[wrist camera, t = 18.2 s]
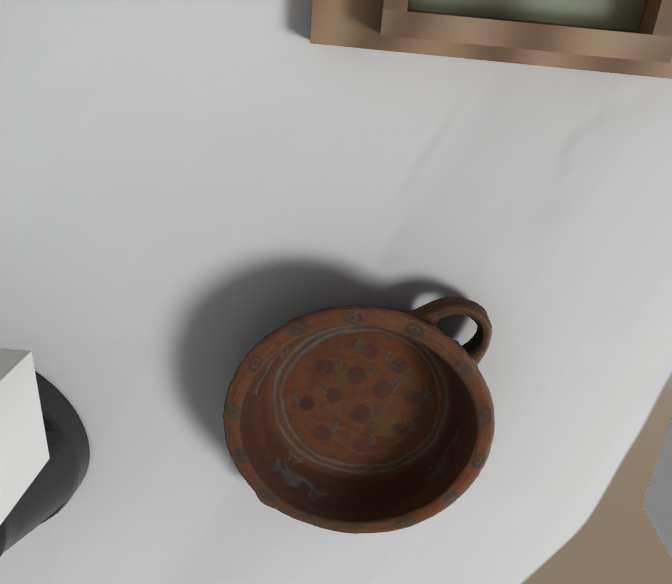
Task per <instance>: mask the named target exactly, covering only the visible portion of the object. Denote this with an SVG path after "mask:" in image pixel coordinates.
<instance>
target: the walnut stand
mask: <svg viewBox="0 0 672 584" xmlns="http://www.w3.org/2000/svg"><path fill="white" fill-rule="evenodd" d="M310 43H315V44H325V45H335V46H345V47H355V48H366V49H376V50H386V51H396V52H406V53H416V54H427V55H437V56H447V57H457V58H467V59H478V60H488V61H498V62H508V63H518V64H528V65H539V66H549V67H559V68H569V69H579V70H590V71H600V72H610V73H620V74H630V75H640V76H651V77H661V78H671V79H672V0H312V15H311V30H310Z"/></svg>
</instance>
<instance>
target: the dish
mask: <svg viewBox="0 0 672 584" xmlns="http://www.w3.org/2000/svg"><path fill="white" fill-rule="evenodd" d="M460 314H462V315H466V316H468V317H470V318H471V319H472V320H474V321H475V323H476V324H477V325H478V327H477V331H476V333H475V335H474V336H473V337H472V338H471V339H470V340H469V341H468V342H467V343H465V344H464V345H462V346H461V345H460V344H459V342H458V341H456V340H453V339H452V338H451V337H449V336H447V335H446V334H444V333H443V332H442V331H441V330H439V329H438V328H437V327H436V324H437V322H438V321H439V320H440V319H441V318H443V317H446V316H449V315H460ZM491 334H492V326H491V323H490V320H489V318H488V315H487V312H486V311H485V309H484V308H483V307H482V306H480V305H479V304H477V303H475V302H473V301H470V300H467V299H464V298H458V297H445V298H440V299H437V300H434V301H432V302H430V303H428V304H425V305H423V306H421V307H419V308H417V309H415V310H412V311H408V312H404V311H397V310H393V309H389V308H383V307H374V306H341V307H332V308H327V309H323V310H319V311H315V312H312V313H309V314H306V315H303V316H301V317H298V318H296V319H293V320H291V321H289V322H288V323H286V324H284V325H283V326H281V327H280V328H278V329H276V330H275V331H273V332H272V333H270V334H269V335H267V336H266V337H265V338H264V339H262V340H261V341H260V342H259V343H258V344H257V345H256V346H255V347H254V348H253V349H252V350H251V351H250V352H249V353H248V354H247V355H246V357H245V358H244V359H243V361H242V362H241V363H240V365H239V367H238V368H237V370H236V373H235V375H234V377H233V379H232V381H231V383H230V385H229V388H228V392H227V397H226V401H225V407H224V414H223V418H224V429H225V438H226V443H227V446H228V449H229V452H230V455H231V457H232V459H233V461H234V463H235V465H236V467H237V469H238V470H239V472H240V473H241V475H242V476H243V477H244V479H245V480H246V481H247V483H248V484H249V485H250V486H251V488H252V489H253V490H254V491H255V493H256V495H257V497H258V498H259V499H260V501H261V502H262V503H264V504H265V505H267V506H270V507H272V508H275V509H277V510H278V511H280V512H282V513H284V514H286V515H288V516H290V517H292V518H294V519H297V520H300V521H303V522H306V523H309V524H312V525H314V526H317V527H320V528H324V529H329V530H333V531H338V532H344V533H355V534H357V533H378V532H389V531H394V530H399V529H403V528H406V527H410V526H412V525H415V524H417V523H420V522H422V521H424V520H426V519H428V518H430V517H432V516H434V515H436V514H437V513H439V512H441V511H442V510H444V509H445V508H447V507H448V506H449V505H451V504H452V503H453V502H454V501H456V500H457V499H458V498H459V497H460V496H461V495H462V494H463V493H464V492H465V491H466V490H467V489H468V488H469V487H470V486H471V484H472V483H473V482H474V481H475V479H476V478H477V477H478V475H479V473H480V471H481V470H482V468H483V467H484V465H485V463H486V461H487V459H488V456H489V453H490V449H491V444H492V441H493V435H494V425H495V422H494V406H493V401H492V398H491V394H490V391H489V389H488V386H487V384H486V382H485V380H484V378H483V376H482V374H481V373H480V371H479V369H478V367H477V365H478V363H479V362H480V360H481V359H482V357H483V356H484V354H485V352H486V351H487V349H488V346H489V343H490V339H491Z"/></svg>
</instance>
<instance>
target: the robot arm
mask: <svg viewBox="0 0 672 584" xmlns="http://www.w3.org/2000/svg"><path fill="white" fill-rule="evenodd" d="M89 457H90V451H89V442H88V438H87V434H86V431H85V428H84V426H83V424H82V422H81V420H80V418H79V416H78V414H77V413H76V411H75V410H74V408H73V407H72V405H71V404H70V403H69V401H68V400H67V399H66V398H65V397H64V396H63V395H62V394H61V393H60V392H59V391H58V390H57V389H56V388H55V387H54V386H53V385H52V384H51V383H49V382H48V381H47V380H46V379H44V378H43V377H41V376H40V375H38V374H37V373H35V369H34V363H33V357H32V352H31V351H25V350H12V349H0V557H1V555H2V554H3V553H4V552H5V551H6V550H7V549H9V548H10V547H11V546H13V545H14V544H15V543H16V542H18V541H19V540H20V539H22V538H23V537H24V536H26V535H27V534H28V533H29V532H31V531H32V530H33V529H34V528H36V527H37V526H38V525H39V524H41V523H43V522H45V521H47V520H48V519H50V518H51V517H53V516H54V515H55V514H57V513H58V512H59V511H60V510H61V509H62V508H63V507H64V506H65V505H66V504H67V503H68V502H69V500H70V499H71V497H72V496H73V494H74V493H75V491H76V490H77V488H78V487H79V485H80V484H81V482H82V481H83V479H84V477H85V475H86V472H87V469H88V465H89ZM642 506H643V508H644V510H645V512H646V514H647V516H648V517H649V519H650V521H651V523H652V525H653V526H654V528H655V530H656V532H657V534H658V536H659V537H660V539H661V541H662V543H663V545H664V546H665V548H666V550H667V552H668V554H669V556H670V557H671V559H672V416H671V419H670V422H669V425H668V428H667V432H666V435H665V438H664V441H663V444H662V447H661V450H660V453H659V456H658V459H657V462H656V465H655V468H654V471H653V474H652V477H651V480H650V483H649V486H648V490H647V493H646V496H645V499H644V502H643V505H642Z"/></svg>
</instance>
